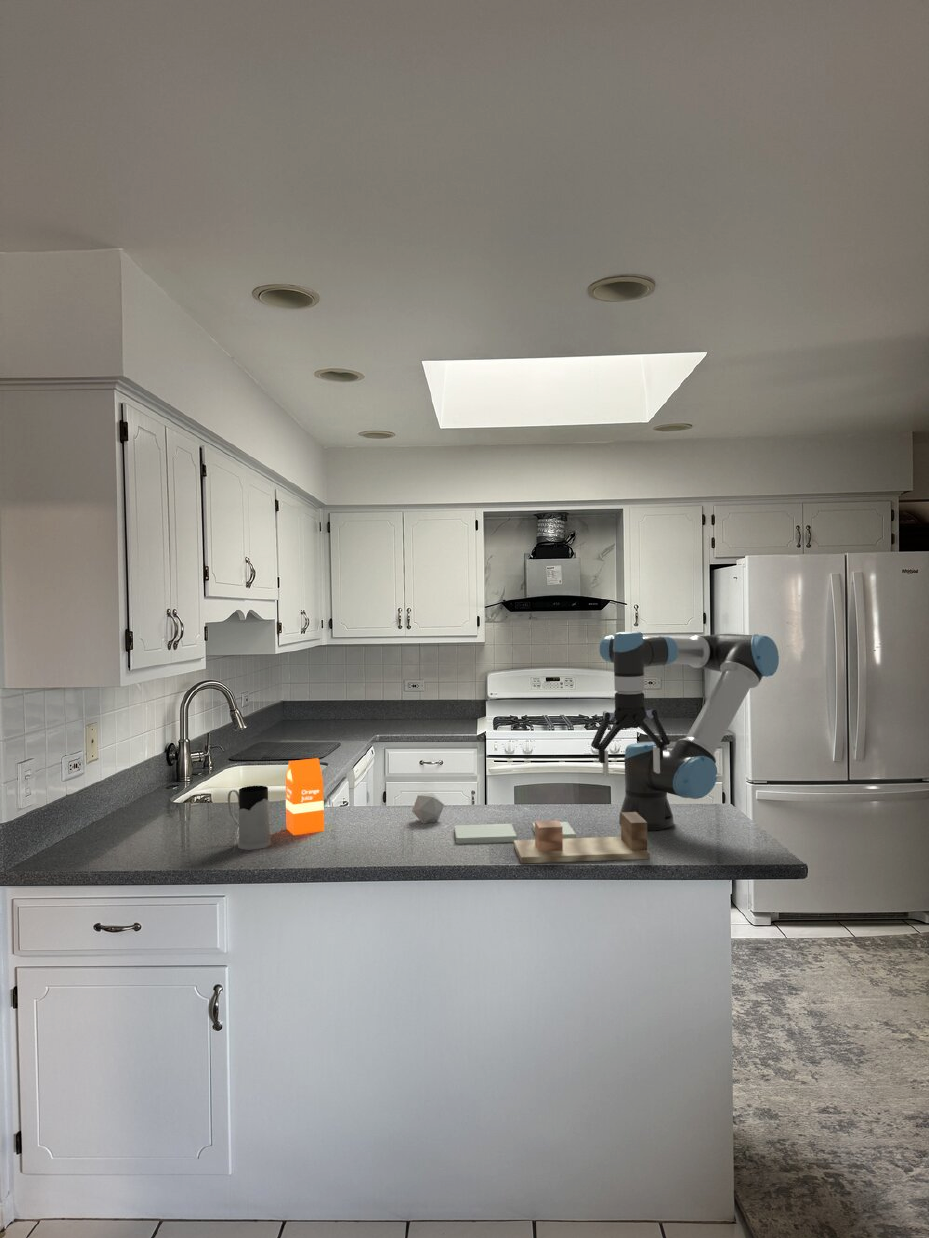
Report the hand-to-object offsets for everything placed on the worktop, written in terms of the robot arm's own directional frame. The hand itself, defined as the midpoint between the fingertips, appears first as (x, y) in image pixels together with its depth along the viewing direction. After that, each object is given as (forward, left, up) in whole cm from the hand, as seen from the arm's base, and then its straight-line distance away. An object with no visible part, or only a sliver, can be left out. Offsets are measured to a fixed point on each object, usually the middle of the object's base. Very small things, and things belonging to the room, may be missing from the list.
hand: (631, 773), depth 211 cm
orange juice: (+87, -26, -19) cm, 93 cm away
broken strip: (+29, -14, -19) cm, 37 cm away
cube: (+22, +3, -18) cm, 28 cm away
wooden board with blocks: (+14, +3, -19) cm, 24 cm away
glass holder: (+101, -15, -19) cm, 104 cm away
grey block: (+52, -31, -19) cm, 64 cm away
